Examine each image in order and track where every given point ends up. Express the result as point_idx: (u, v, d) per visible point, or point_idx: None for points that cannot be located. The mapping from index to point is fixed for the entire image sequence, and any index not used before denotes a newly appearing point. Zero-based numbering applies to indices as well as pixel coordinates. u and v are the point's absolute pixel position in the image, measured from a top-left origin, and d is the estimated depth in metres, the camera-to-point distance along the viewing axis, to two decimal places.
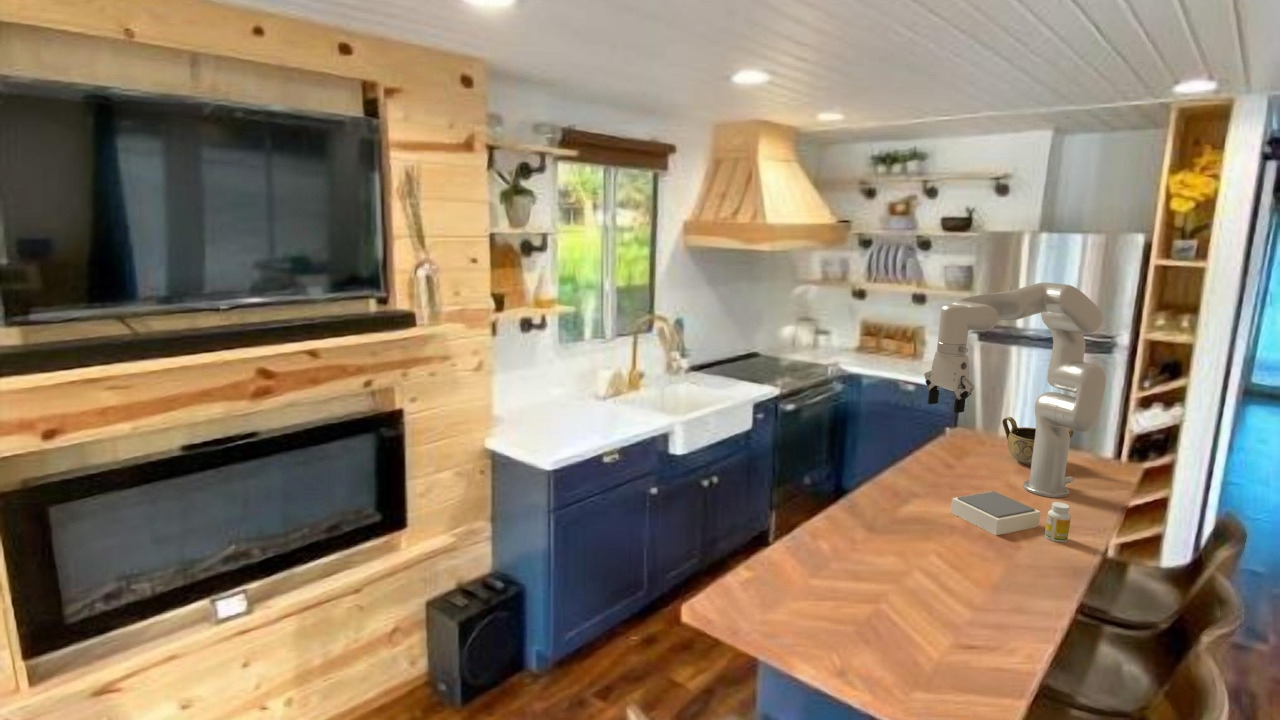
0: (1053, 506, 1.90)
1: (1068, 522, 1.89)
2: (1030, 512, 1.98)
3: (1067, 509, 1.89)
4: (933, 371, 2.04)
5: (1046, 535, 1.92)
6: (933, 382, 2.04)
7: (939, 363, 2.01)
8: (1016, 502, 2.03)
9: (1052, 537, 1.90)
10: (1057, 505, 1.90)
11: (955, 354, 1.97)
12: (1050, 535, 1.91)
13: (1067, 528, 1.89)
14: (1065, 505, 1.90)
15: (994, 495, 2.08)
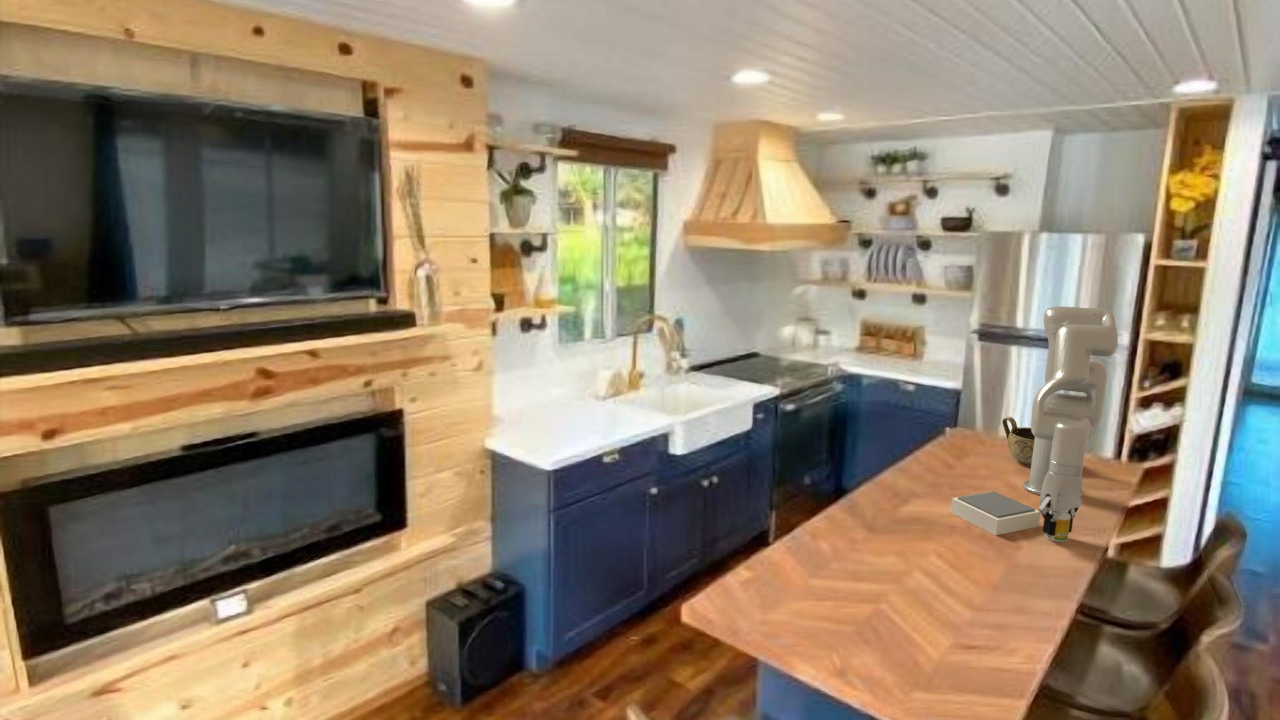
0: None
1: (1068, 522, 1.89)
2: (1030, 512, 1.98)
3: (1067, 509, 1.89)
4: (1059, 498, 1.86)
5: (1046, 535, 1.92)
6: (1058, 509, 1.87)
7: (1068, 487, 1.86)
8: (1016, 502, 2.03)
9: (1052, 537, 1.90)
10: None
11: None
12: (1050, 535, 1.91)
13: (1067, 528, 1.89)
14: None
15: (994, 495, 2.08)
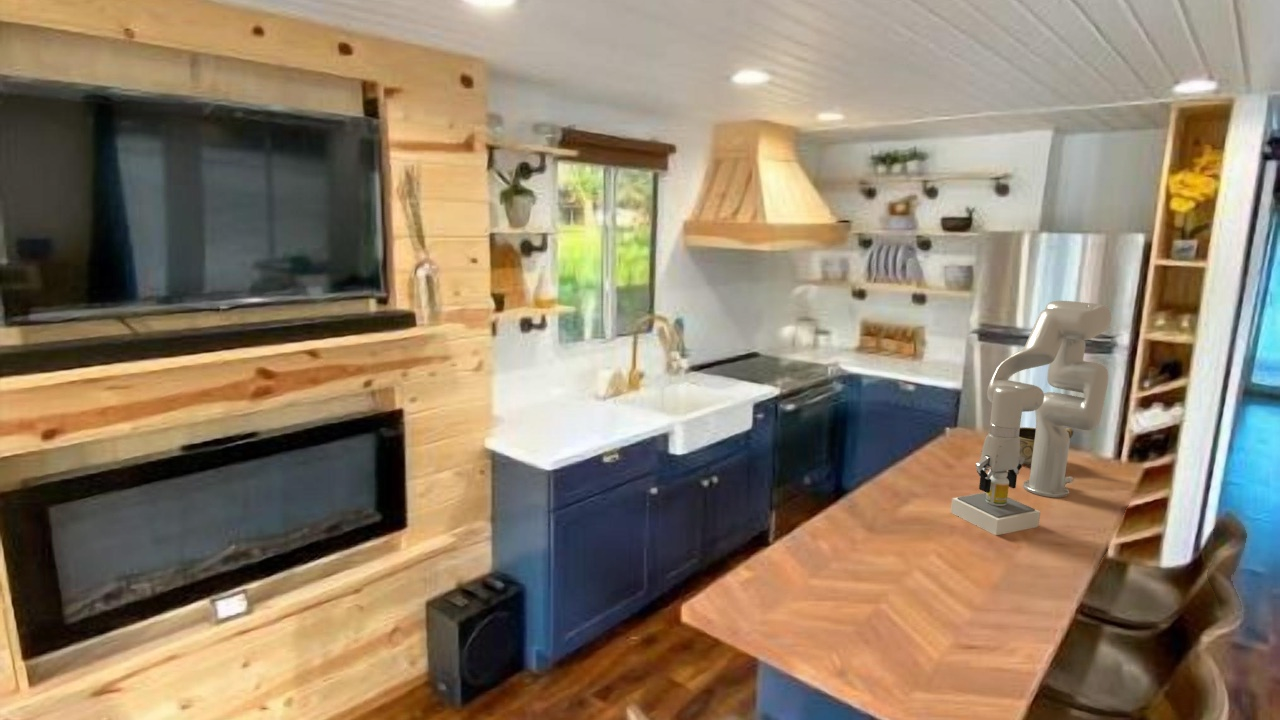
0: None
1: (1006, 487, 1.99)
2: (1030, 512, 1.98)
3: (1005, 474, 1.99)
4: (997, 459, 1.96)
5: (986, 500, 2.03)
6: (997, 469, 1.97)
7: (1006, 448, 1.97)
8: (1016, 502, 2.03)
9: (991, 501, 2.01)
10: None
11: None
12: (990, 500, 2.01)
13: (1005, 492, 2.00)
14: (1004, 471, 2.01)
15: None
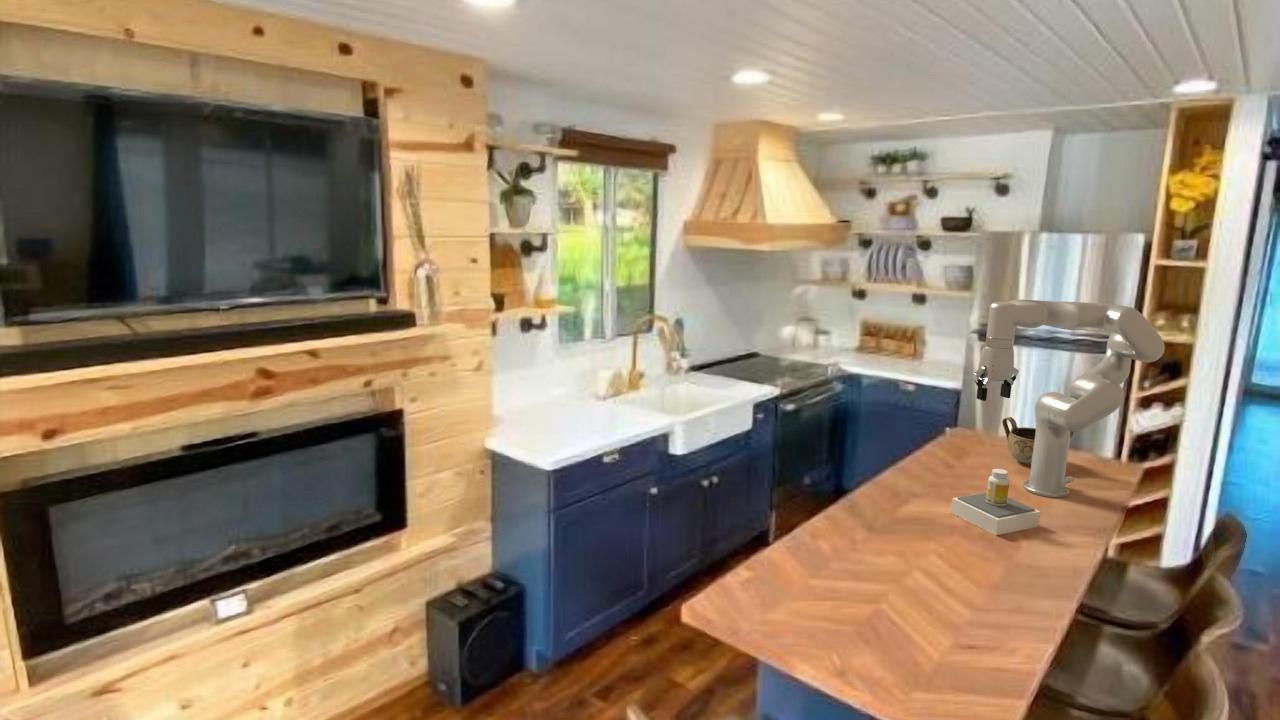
0: (993, 472, 2.01)
1: (1006, 487, 1.99)
2: (1030, 512, 1.98)
3: (1005, 474, 1.99)
4: (993, 368, 2.13)
5: (986, 500, 2.03)
6: (992, 378, 2.14)
7: (1001, 359, 2.13)
8: (1016, 502, 2.03)
9: (991, 501, 2.01)
10: (996, 471, 2.01)
11: None
12: (990, 500, 2.01)
13: (1006, 493, 2.00)
14: (1004, 471, 2.01)
15: None
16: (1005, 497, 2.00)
